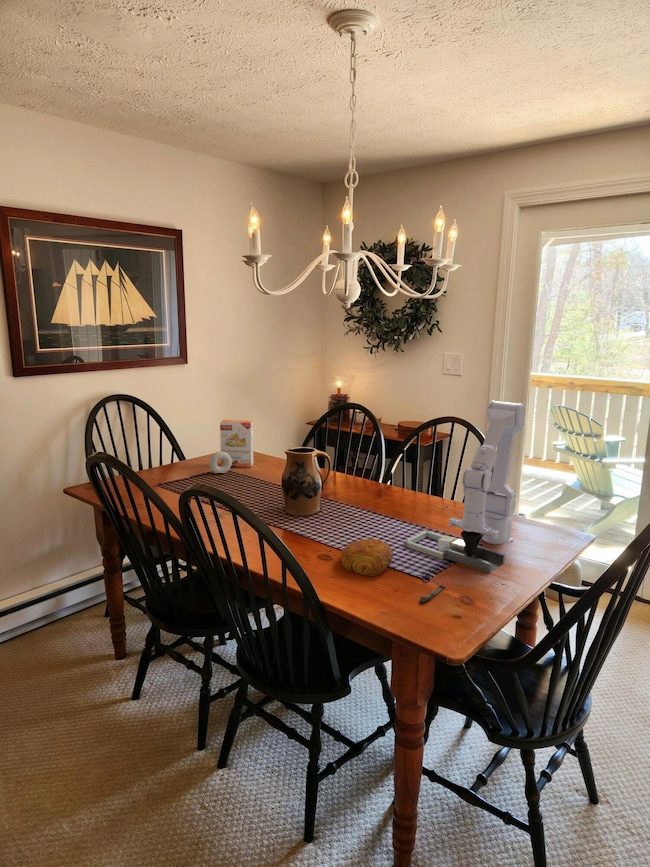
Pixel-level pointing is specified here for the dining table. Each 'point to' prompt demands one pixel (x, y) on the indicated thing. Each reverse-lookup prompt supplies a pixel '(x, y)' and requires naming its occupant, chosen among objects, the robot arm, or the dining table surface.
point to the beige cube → (445, 543)
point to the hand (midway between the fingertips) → (470, 555)
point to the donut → (218, 456)
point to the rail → (478, 558)
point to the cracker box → (237, 441)
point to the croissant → (367, 556)
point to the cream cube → (459, 546)
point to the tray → (412, 544)
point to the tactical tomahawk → (432, 594)
